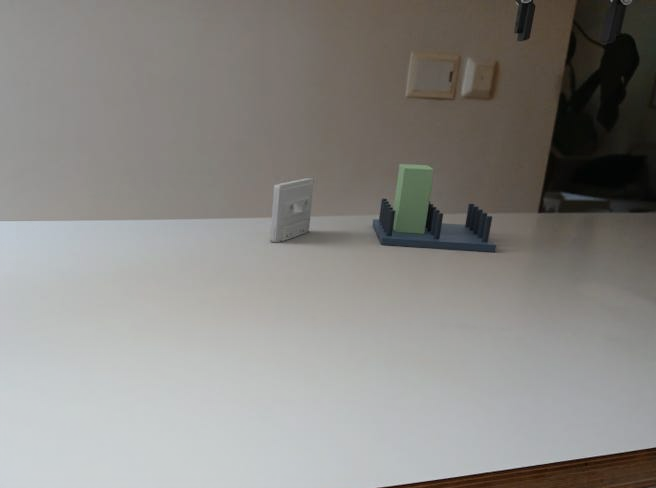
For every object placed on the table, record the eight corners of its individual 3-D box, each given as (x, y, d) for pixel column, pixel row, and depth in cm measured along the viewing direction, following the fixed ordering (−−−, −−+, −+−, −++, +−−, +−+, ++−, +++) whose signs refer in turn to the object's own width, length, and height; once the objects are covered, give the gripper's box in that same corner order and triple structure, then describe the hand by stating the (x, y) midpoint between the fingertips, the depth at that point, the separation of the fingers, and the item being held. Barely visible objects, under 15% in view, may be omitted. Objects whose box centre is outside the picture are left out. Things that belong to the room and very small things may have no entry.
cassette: (278, 243, 100) (283, 185, 98) (266, 241, 101) (270, 184, 99) (312, 231, 110) (317, 178, 107) (300, 229, 111) (305, 177, 108)
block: (418, 227, 111) (427, 165, 108) (424, 234, 105) (434, 169, 102) (391, 225, 111) (399, 163, 108) (395, 232, 106) (404, 167, 103)
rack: (471, 231, 115) (476, 202, 113) (495, 252, 100) (501, 218, 98) (372, 225, 117) (376, 196, 115) (381, 244, 102) (385, 212, 100)
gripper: (664, -114, 86) (628, 45, 92) (508, -113, 89) (483, 41, 95) (695, -132, 79) (654, 41, 85) (525, -131, 82) (497, 37, 88)
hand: (564, 41), depth 90 cm, fingers open, 9 cm apart
